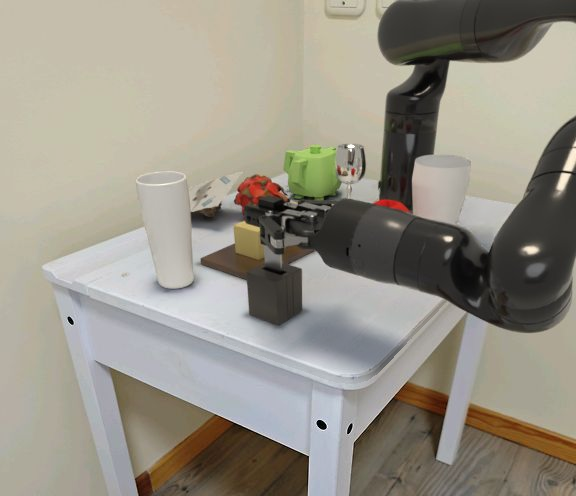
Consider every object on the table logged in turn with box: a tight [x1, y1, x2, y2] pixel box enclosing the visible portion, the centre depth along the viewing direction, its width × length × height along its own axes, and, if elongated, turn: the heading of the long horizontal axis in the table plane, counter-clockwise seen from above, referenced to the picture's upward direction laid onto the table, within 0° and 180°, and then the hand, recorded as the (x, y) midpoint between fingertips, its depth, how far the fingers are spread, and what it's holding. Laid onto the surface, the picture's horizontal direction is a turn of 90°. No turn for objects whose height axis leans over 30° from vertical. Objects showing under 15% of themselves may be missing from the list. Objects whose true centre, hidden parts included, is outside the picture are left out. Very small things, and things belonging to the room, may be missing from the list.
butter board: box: [200, 242, 315, 281], centre depth 91 cm, size 20×11×1 cm, turn 140°
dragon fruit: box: [233, 173, 291, 216], centre depth 101 cm, size 8×8×12 cm
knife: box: [258, 196, 284, 275], centre depth 70 cm, size 2×3×14 cm
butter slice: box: [233, 220, 264, 260], centre depth 87 cm, size 4×5×4 cm
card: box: [188, 170, 244, 218], centre depth 105 cm, size 11×15×5 cm
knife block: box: [246, 263, 303, 326], centre depth 72 cm, size 5×5×6 cm
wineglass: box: [334, 143, 367, 199], centre depth 102 cm, size 6×6×12 cm
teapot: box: [283, 143, 343, 200], centre depth 113 cm, size 12×12×10 cm
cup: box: [412, 153, 472, 225], centre depth 92 cm, size 9×9×12 cm
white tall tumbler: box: [135, 170, 195, 290], centre depth 78 cm, size 7×7×15 cm
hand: (253, 211), depth 68 cm, fingers closed on knife, 2 cm apart
